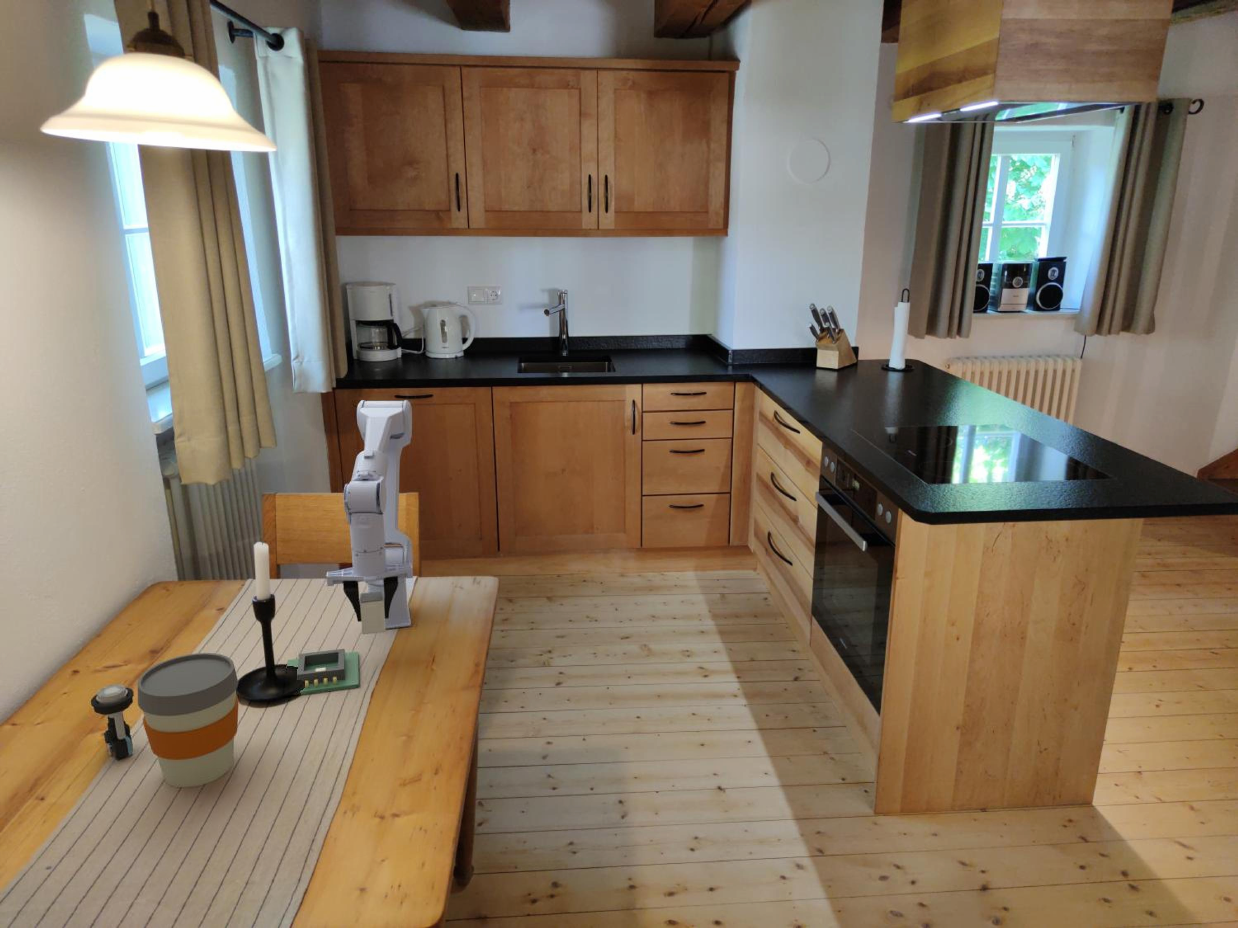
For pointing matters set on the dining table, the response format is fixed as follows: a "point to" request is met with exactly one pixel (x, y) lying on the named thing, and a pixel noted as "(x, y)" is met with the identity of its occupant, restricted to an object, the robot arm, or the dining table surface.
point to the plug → (372, 612)
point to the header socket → (327, 670)
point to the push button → (115, 718)
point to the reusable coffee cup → (191, 716)
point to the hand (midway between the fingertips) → (373, 617)
